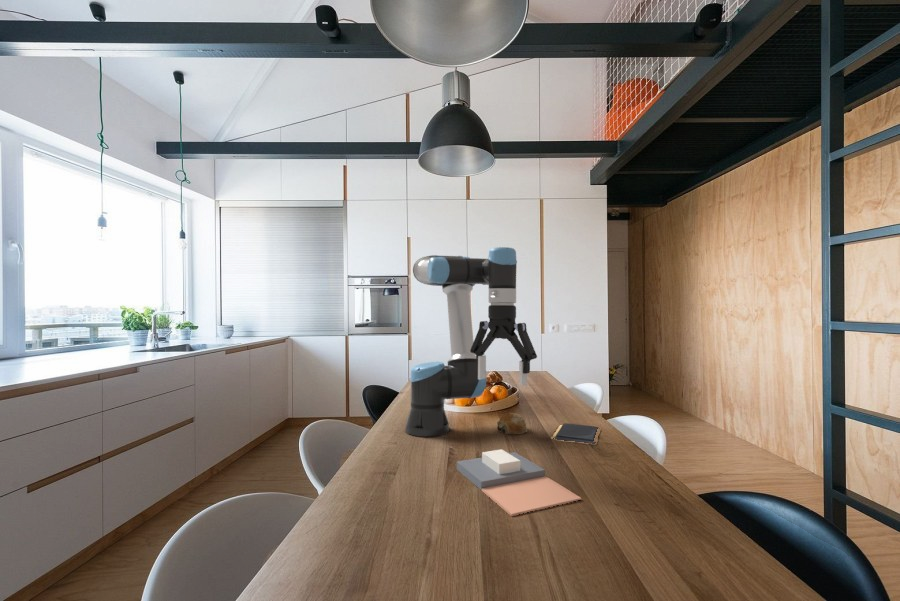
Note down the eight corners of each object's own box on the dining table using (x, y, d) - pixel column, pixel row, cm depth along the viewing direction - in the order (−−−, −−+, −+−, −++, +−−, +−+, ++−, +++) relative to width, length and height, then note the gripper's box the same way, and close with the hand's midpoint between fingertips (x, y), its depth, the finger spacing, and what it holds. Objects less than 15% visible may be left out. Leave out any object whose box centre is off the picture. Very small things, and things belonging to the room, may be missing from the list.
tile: (482, 462, 108) (482, 452, 109) (501, 458, 111) (501, 449, 111) (499, 474, 100) (499, 464, 100) (520, 470, 103) (520, 460, 103)
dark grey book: (596, 441, 127) (547, 435, 134) (596, 448, 127) (547, 441, 134) (603, 425, 145) (559, 420, 152) (603, 431, 145) (559, 425, 152)
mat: (481, 490, 96) (481, 488, 96) (545, 478, 103) (545, 476, 103) (511, 516, 84) (511, 513, 84) (581, 500, 91) (581, 498, 91)
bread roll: (523, 446, 138) (533, 424, 138) (495, 432, 139) (506, 411, 139) (519, 437, 148) (528, 417, 148) (493, 424, 149) (502, 404, 149)
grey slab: (456, 469, 109) (456, 461, 109) (514, 459, 116) (514, 452, 116) (481, 490, 96) (481, 481, 96) (545, 477, 103) (545, 469, 103)
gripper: (458, 304, 118) (458, 377, 118) (535, 305, 102) (534, 391, 102) (474, 303, 124) (474, 374, 124) (550, 304, 107) (549, 386, 107)
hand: (501, 382), depth 113 cm, fingers open, 13 cm apart
